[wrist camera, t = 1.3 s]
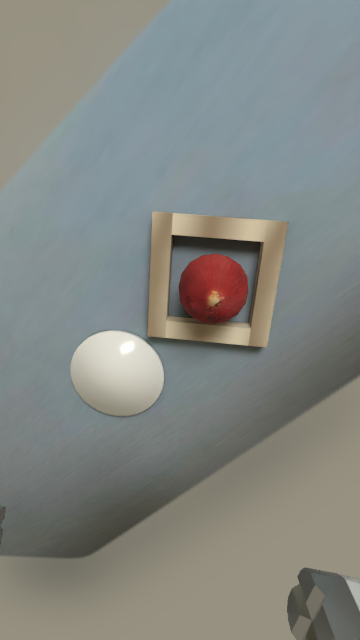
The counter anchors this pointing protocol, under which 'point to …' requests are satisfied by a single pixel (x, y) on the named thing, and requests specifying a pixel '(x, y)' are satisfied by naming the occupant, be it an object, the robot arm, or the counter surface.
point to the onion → (213, 288)
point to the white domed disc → (117, 372)
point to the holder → (223, 228)
